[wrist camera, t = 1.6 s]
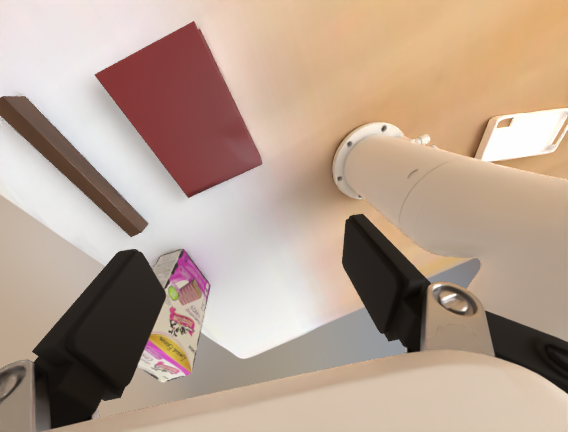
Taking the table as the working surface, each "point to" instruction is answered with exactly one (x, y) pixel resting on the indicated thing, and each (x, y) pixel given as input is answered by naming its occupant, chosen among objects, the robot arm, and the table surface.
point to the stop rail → (69, 161)
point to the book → (183, 110)
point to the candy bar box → (176, 318)
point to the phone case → (522, 135)
